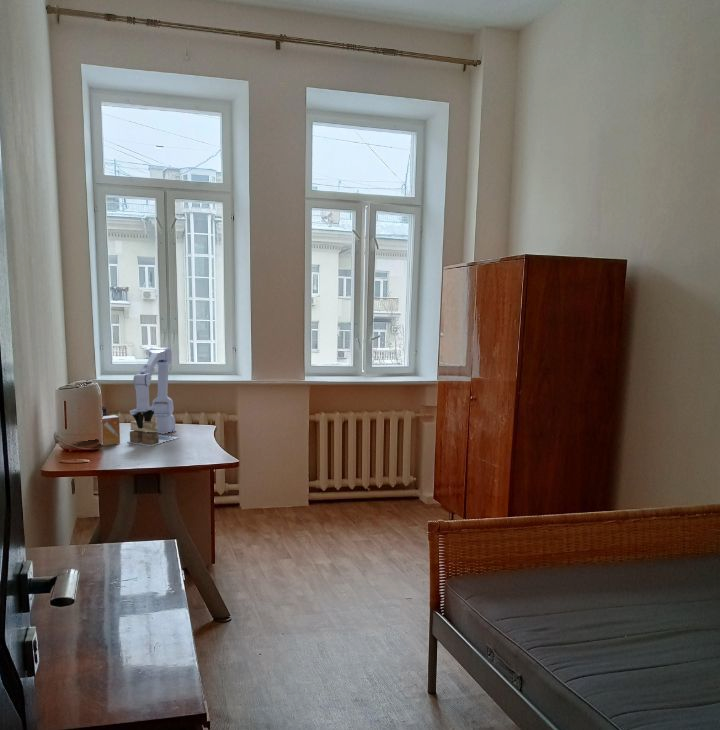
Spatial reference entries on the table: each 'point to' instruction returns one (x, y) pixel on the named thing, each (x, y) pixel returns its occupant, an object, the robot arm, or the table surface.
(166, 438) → the mat
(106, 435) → the small box
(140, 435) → the cube
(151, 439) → the cube
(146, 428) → the lintel
